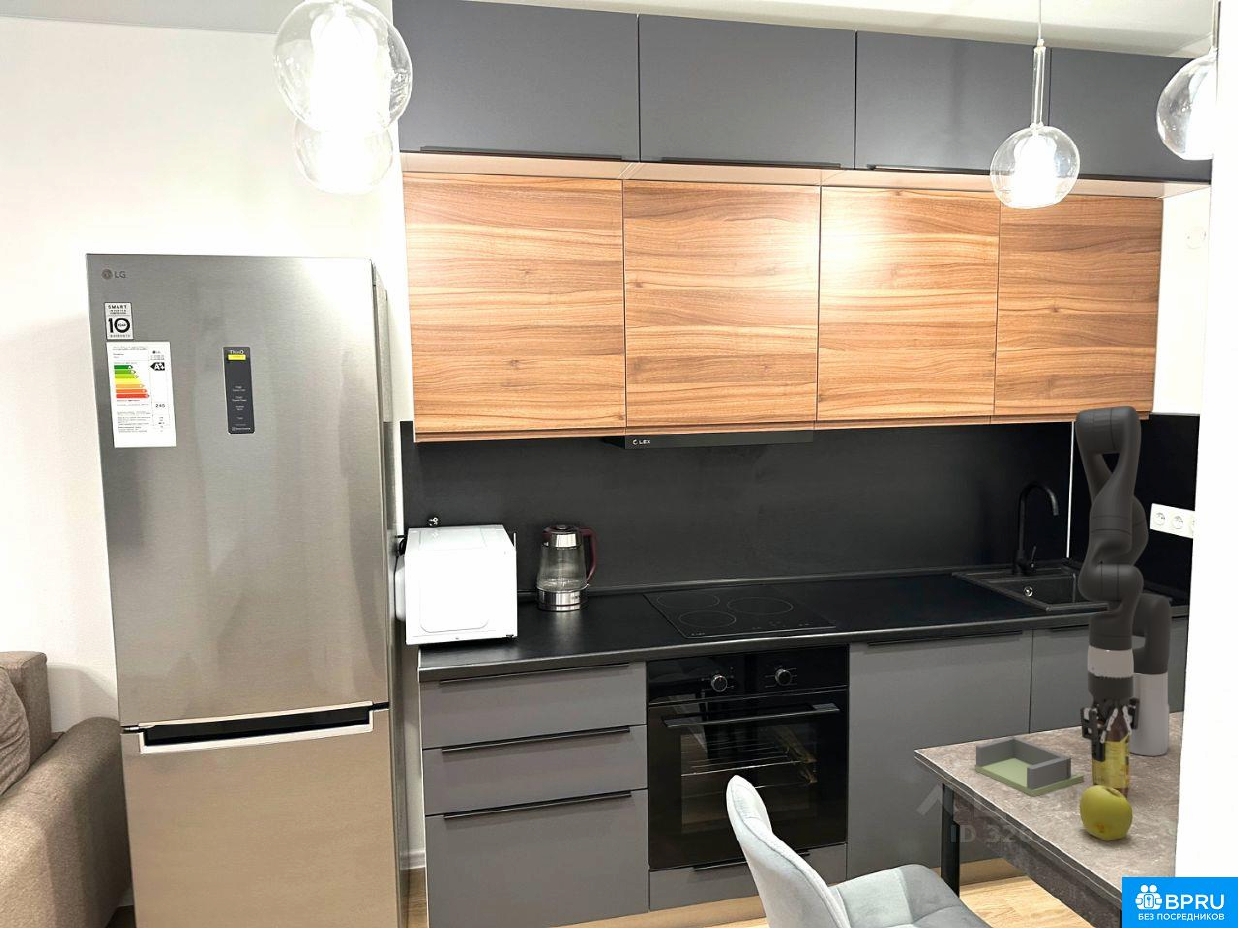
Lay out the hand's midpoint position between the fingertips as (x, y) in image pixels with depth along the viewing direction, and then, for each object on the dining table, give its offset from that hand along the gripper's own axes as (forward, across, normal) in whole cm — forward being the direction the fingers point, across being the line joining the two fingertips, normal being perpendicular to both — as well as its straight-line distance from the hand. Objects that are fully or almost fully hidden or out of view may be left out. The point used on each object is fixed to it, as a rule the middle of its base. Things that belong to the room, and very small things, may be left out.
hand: (1110, 756), depth 166 cm
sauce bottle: (+7, 0, 0) cm, 7 cm away
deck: (+7, +6, -13) cm, 16 cm away
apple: (+7, +15, +10) cm, 20 cm away
